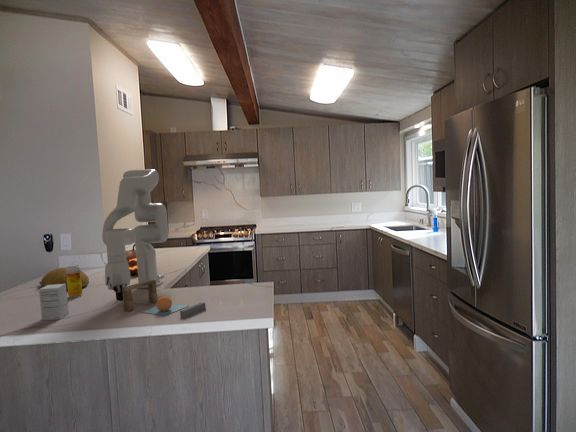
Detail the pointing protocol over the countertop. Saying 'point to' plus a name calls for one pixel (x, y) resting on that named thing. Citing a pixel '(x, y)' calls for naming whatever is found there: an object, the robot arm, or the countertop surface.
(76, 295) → the beer can
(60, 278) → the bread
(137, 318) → the countertop surface
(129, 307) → the bridge
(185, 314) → the stopper
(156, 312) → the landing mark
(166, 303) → the ball
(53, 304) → the supplement box
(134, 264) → the pumpkin
